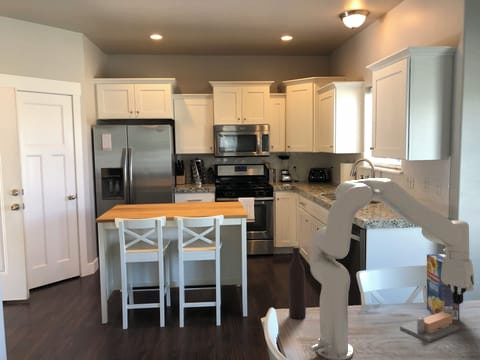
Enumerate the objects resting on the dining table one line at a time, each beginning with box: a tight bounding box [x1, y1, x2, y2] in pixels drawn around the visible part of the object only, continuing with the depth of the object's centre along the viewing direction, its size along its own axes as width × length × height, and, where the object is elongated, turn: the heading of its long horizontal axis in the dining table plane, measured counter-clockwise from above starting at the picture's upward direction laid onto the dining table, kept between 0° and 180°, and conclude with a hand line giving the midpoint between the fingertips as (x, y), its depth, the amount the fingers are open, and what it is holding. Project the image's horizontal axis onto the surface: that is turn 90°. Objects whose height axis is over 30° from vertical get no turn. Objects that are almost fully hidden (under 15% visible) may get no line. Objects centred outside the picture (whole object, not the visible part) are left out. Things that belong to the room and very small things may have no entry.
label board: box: [399, 315, 459, 343], centre depth 144 cm, size 18×12×6 cm, turn 119°
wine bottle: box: [287, 246, 307, 320], centre depth 159 cm, size 7×7×30 cm
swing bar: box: [423, 312, 453, 332], centre depth 144 cm, size 14×4×3 cm, turn 119°
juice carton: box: [426, 253, 460, 320], centre depth 157 cm, size 12×8×24 cm, turn 0°
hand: (458, 303), depth 138 cm, fingers closed
